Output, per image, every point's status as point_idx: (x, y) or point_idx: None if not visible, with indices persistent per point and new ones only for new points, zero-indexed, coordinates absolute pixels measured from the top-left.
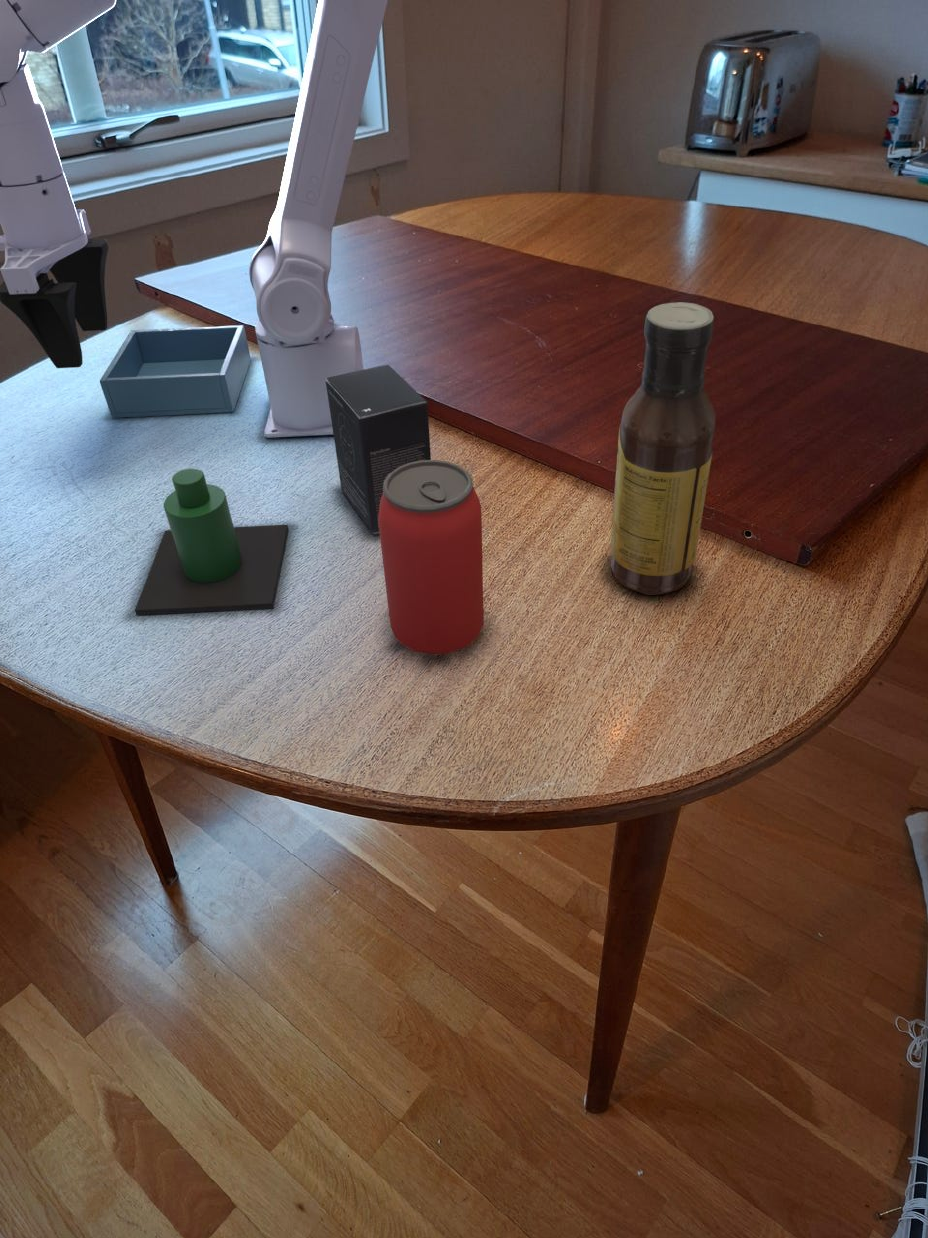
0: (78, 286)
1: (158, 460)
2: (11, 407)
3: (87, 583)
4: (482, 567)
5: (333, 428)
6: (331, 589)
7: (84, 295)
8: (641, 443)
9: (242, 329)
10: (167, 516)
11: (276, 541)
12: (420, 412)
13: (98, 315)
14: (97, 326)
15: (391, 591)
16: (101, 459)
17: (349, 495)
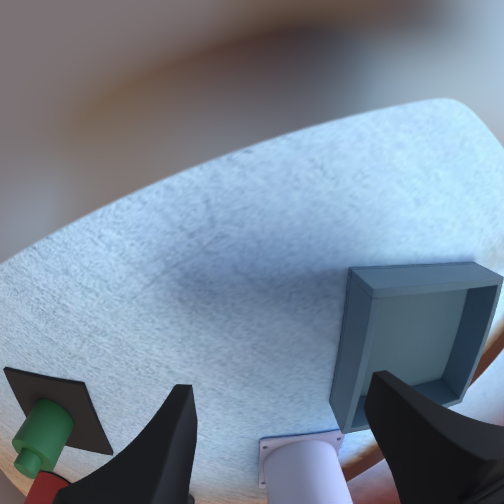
0: (412, 451)
1: (222, 356)
2: (399, 106)
3: (18, 328)
4: None
5: None
6: (65, 459)
7: (400, 441)
8: None
9: (452, 405)
10: (16, 435)
11: (91, 448)
12: None
13: (374, 424)
14: (369, 401)
15: (30, 493)
16: (229, 287)
17: None
